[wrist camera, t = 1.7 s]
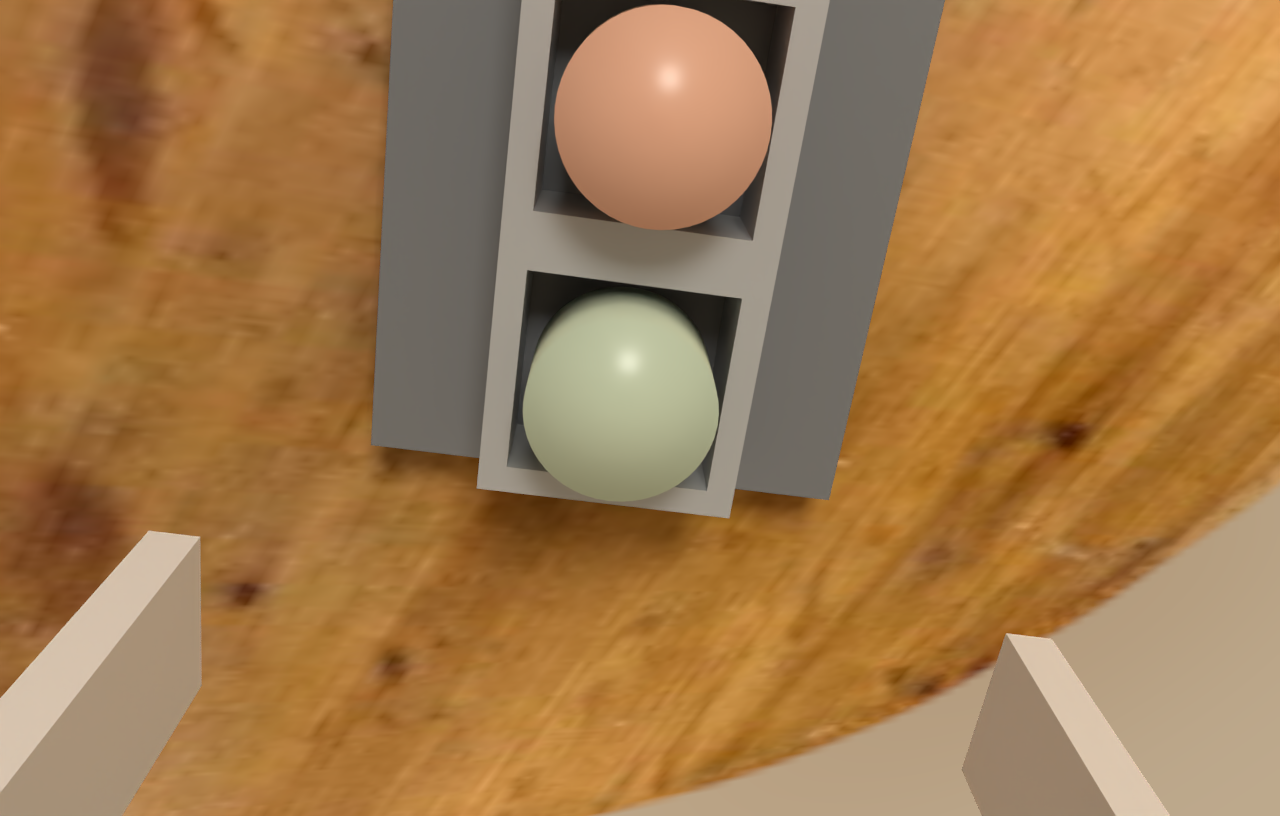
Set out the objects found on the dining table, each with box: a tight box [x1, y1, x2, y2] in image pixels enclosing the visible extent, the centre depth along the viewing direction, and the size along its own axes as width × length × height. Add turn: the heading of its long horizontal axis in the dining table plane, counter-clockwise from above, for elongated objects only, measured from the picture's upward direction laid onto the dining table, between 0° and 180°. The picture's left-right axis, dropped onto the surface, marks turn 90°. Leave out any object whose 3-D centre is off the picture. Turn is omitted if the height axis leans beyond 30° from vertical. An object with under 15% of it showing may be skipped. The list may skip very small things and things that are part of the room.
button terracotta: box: [554, 4, 772, 230], centre depth 24 cm, size 5×5×3 cm
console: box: [371, 0, 945, 518], centre depth 27 cm, size 22×14×5 cm, turn 172°
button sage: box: [523, 287, 719, 502], centre depth 27 cm, size 5×5×3 cm
